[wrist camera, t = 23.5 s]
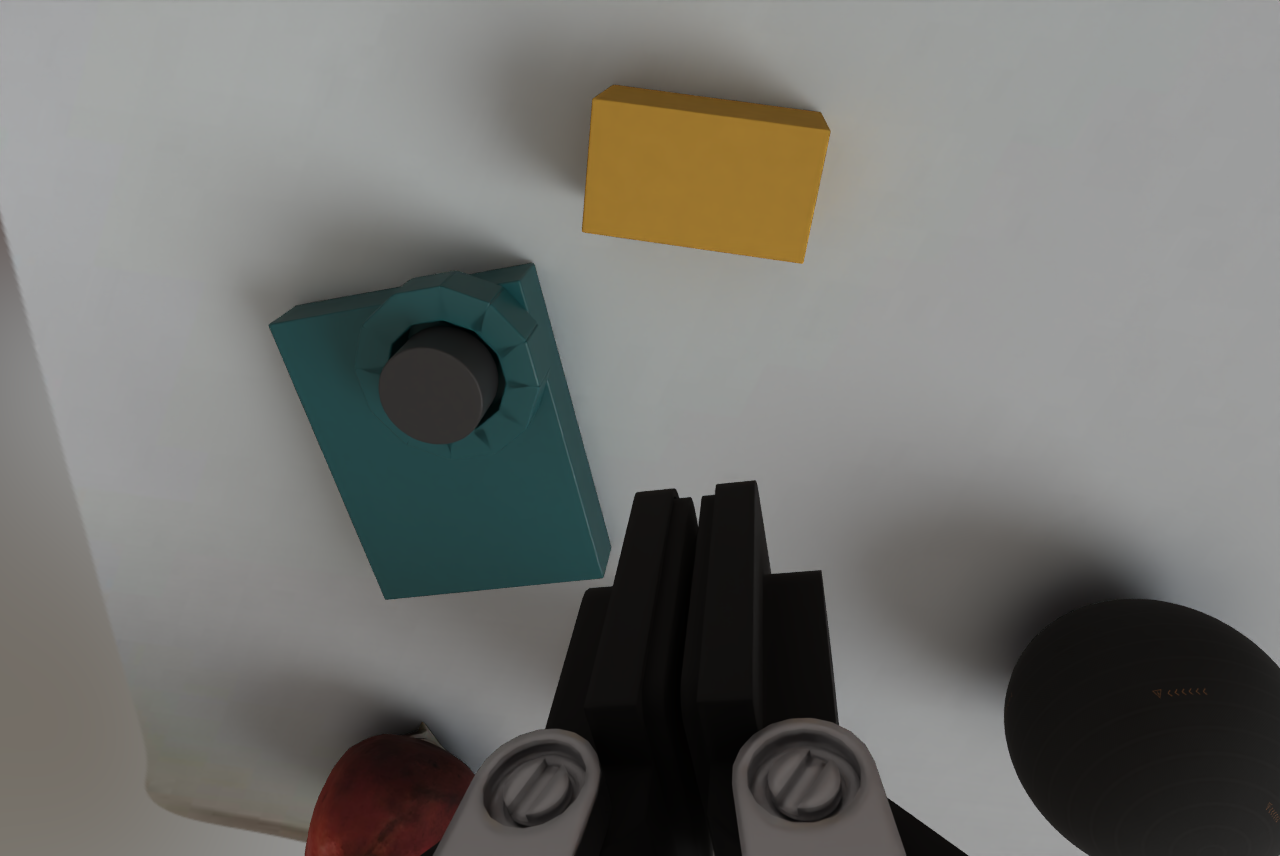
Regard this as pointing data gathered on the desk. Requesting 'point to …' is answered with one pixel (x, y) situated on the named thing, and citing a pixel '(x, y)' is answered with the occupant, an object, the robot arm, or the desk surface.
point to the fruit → (388, 797)
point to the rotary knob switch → (456, 472)
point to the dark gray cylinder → (438, 385)
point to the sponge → (703, 172)
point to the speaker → (1149, 732)
